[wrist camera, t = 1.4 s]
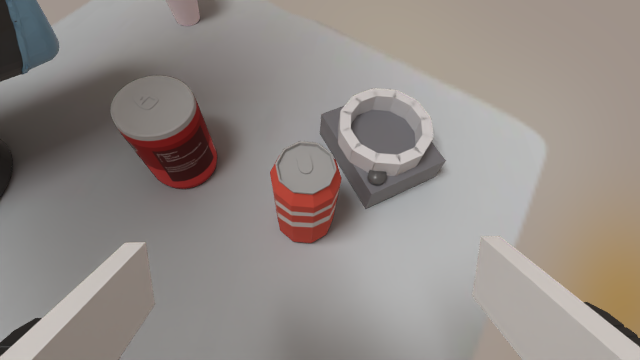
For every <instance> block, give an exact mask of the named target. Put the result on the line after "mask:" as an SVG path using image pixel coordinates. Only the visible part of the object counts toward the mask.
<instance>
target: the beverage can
mask: <svg viewBox="0 0 640 360" xmlns="http://www.w3.org/2000/svg"><path fill="white" fill-rule="evenodd" d="M270 175H271V181H272V187H273V193H274V199H275V205H276V211H277V217H278V222H279V227H280V230H281V231H282V232H283V233H284V234H285V235H286V236H288V237H289V238H290V239H291V240H292V241H294V242H305V243H312V242H314V241H316V240H317V239H319V238H321V237H323V236H324V235H326V234H327V232H328V229H329V227H330V225H331V222H332V220H333V216H334V211H335V207H336V202H337V197H338V193H339V188H340V183H341V175H340V172H339V169H338V166H337V162H336V160H335V159H334V158H333V155H332V153H331V152H329V151H328V150H327V149H325V148H324V147H323V146H321V145H320V144H318V143H313V142H301V141H299V142H297V143H295V144H293V145H291V146H289V147H287V148H284V149H283V151H282V152H281V154H280V155H279V157H278V159H277V161H276V163H275V164H274V166H273V168H272V170H271V172H270Z"/></svg>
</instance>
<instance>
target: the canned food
mask: <svg viewBox="0 0 640 360" xmlns="http://www.w3.org/2000/svg"><path fill="white" fill-rule="evenodd" d="M110 113H111V118H112V120H113V122H114V123H115V125H116V127H117V128H118V130H119V131H120V132H121V134H122V135H123V136H124V138H125V139H126V140H127V141H128V143H129V144H130V145H131V147H132V148H133V149H134V150H135V152H136V153H137V154H138V155H139V157H140V158H141V159H142V160H143V162H144V163H145V164H146V165H147V167H148V168H149V169H150V171H151V172H152V173H153V174H154V176H155V177H156V178H157V179H158V180H159V181H161V182H162V183H164V184H166V185H168V186H170V187H174V188H179V189H186V188H192V187H195V186H198V185H200V184H202V183H203V182H205V181H206V180H207V179H208V178H209V177H210V176H211V175H212V174H213V172H214V170H215V167H216V162H217V152H216V150H215V147H214V144H213V142H212V139H211V137H210V134H209V132H208V129H207V126H206V124H205V121H204V119H203V116H202V114H201V111H200V109H199V106H198V103H197V101H196V99H195V97H194V95H193V93H192V91H191V90H190V88H189V87H188V86H187V85H186V84H185V83H183V82H182V81H180V80H179V79H176V78H173V77H169V76H164V75H153V76H146V77H142V78H139V79H136V80H134V81H132V82H130V83H128V84H127V85H125V86H124V87H123V88H121V89H120V90H119V91H118V93H117V94H116V95H115V97H114V98H113V100H112V103H111V108H110Z"/></svg>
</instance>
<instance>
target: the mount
mask: <svg viewBox="0 0 640 360" xmlns="http://www.w3.org/2000/svg"><path fill="white" fill-rule="evenodd" d="M320 135H321V136H322V138H323V139H324V141H325V143H326V144H327V146H328V148H329V149H330V151H331V153H332V154H333V156H334V158H335V159H336V161H337V163H338V164H339V166H340V168H341V169H342V171H343V173H344V174H345V176H346V177H347V179H348V181H349V182H350V184H351V186H352V187H353V189H354V191H355V192H356V194H357V196H358V197H359V199H360V201H361V202H362V204H363V206H364V207H365V209H367V208H369V207H371V206H373V205H375V204H377V203H380V202H382V201H384V200H386V199H388V198H390V197H393V196H395V195H397V194H399V193H401V192H403V191H406V190H408V189H410V188H412V187H414V186H416V185H418V184H421V183H423V182H425V181H427V180H429V179H431V178H434V177H435V175H436V174H437V172H438V171H439V170H440V168H441V167H442V165H443V164H444V162H445V161H446V160H445V159H444V158H443V156H442V155H441V154H440V153H439V151H438V150H437V149H436V147H435V146H434V145H433V143H432V142H431V141H432V139H433V129H432V120H431V117H430V115H429V114H428V113H427V112H426V110H425V109H424V108H423V107H422V105H421V104H420V103H419V102H418V101H417V100H416V99H414V98H412V97H410V96H408V95H406V94H404V93H402V92H400V91H398V90H392V89H379V88H374V89H373V88H372V89H369V90H367V91H364V92H361V93H358V94H356V95H353V96H352V97H351V99H350V100H349V101H348V102H347V103H346V105H345V106H343V107H340V108H337V109H335V110H332V111H329V112H326V113H324V114H321V127H320Z"/></svg>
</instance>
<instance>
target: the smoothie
mask: <svg viewBox="0 0 640 360" xmlns="http://www.w3.org/2000/svg"><path fill="white" fill-rule="evenodd" d="M166 2H167V4H168V6H169V7H170V9H171V11H172V13H173V15H174V17H175V19H176V21H177V23H179V24H180V25H183V26H191V25H194V24H196V23H197V22H198V21H199V20H200V14H199V8H198V1H197V0H166Z"/></svg>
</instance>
